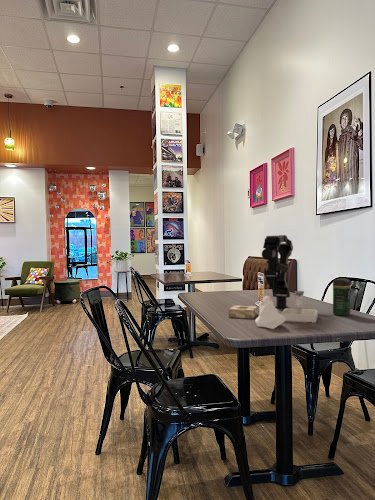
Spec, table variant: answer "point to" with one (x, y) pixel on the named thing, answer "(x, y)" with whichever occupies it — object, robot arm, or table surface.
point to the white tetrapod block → (269, 315)
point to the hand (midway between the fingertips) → (273, 287)
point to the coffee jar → (341, 296)
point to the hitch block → (243, 311)
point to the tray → (300, 315)
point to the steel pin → (299, 302)
